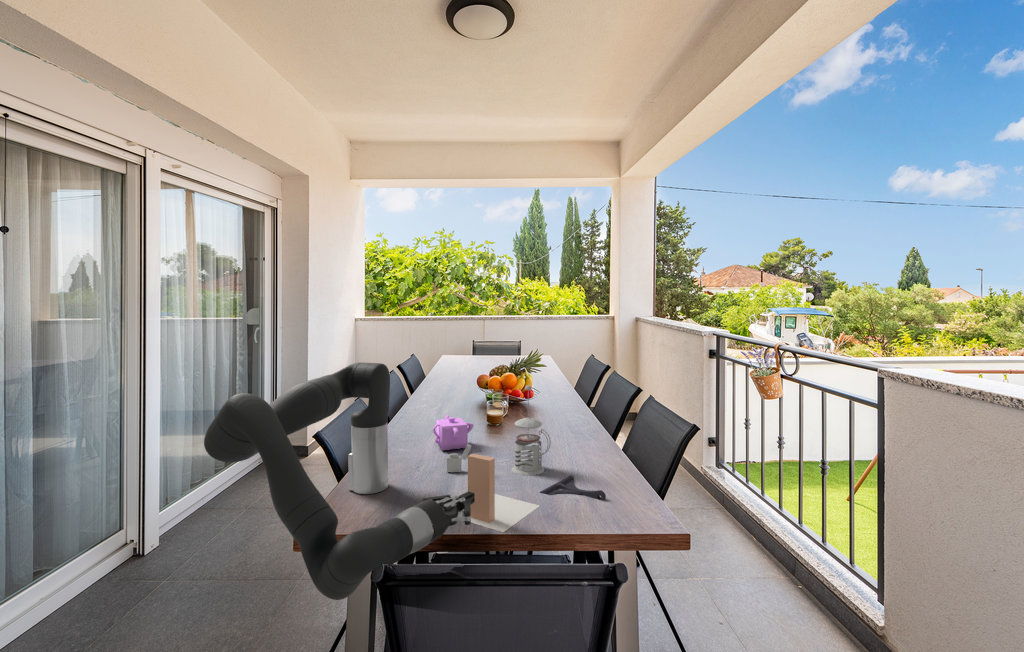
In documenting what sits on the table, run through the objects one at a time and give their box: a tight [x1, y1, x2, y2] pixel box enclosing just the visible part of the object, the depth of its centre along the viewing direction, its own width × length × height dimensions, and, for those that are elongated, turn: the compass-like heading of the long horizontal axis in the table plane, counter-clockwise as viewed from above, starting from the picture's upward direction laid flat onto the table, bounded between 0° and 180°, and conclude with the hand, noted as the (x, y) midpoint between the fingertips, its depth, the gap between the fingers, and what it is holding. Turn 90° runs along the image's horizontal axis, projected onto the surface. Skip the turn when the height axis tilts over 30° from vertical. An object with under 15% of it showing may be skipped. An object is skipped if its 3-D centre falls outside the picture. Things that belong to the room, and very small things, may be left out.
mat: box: [471, 493, 540, 533], centre depth 116 cm, size 16×16×1 cm
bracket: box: [539, 474, 607, 501], centre depth 128 cm, size 14×15×3 cm
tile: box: [467, 453, 496, 523], centre depth 111 cm, size 6×2×14 cm, turn 57°
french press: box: [511, 384, 552, 476], centre depth 144 cm, size 10×12×25 cm
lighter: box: [446, 443, 472, 473], centre depth 143 cm, size 7×2×8 cm, turn 90°
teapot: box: [432, 414, 475, 451], centre depth 168 cm, size 18×14×10 cm
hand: (471, 496), depth 108 cm, fingers closed
